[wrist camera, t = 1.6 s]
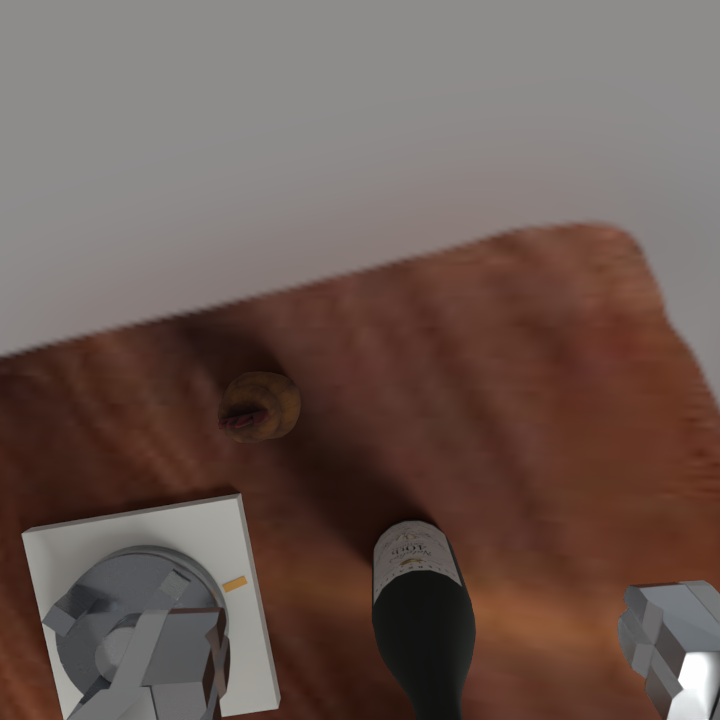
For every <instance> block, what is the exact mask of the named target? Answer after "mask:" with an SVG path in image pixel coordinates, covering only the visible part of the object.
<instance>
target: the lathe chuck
mask: <svg viewBox="0 0 720 720" xmlns="http://www.w3.org/2000/svg"><path fill="white" fill-rule="evenodd" d="M213 607H222V608H224V609H225V614H226V620H227V623H226V627H225V632H224V634H225V635H226V636H227V637H228V634H229V617H228V610H227V606H226V603H225V600H224V597H223V595H222V592H221V590H220V589H219V587H218V585H217V583H216V582H215V581H214V579H213V578H212V577H211V575H210V574H209V573H208V572H207V571H206V570H205V569H204V568H203V567H202V566H201V565H200V564H198V563H197V562H196V561H194V560H193V559H191V558H190V557H188V556H186V555H185V554H183V553H180V552H178V551H176V550H173V549H169V548H166V547H161V546H155V545H139V546H131V547H127V548H123V549H120V550H118V551H115V552H113V553H111V554H109V555H107V556H105V557H104V558H102V559H101V560H100V561H98V562H97V563H96V564H95V565H93V566H92V567H91V568H90V569H89V570H88V571H86V572H85V573H84V574H83V575H82V576H81V577H80V578H79V579H78V580H77V581H76V582H75V583H74V584H73V585H72V586H71V588H70V589H69V590H68V592H67V593H66V594H65V595H64V596H62V597H61V598H60V599H59V600H58V601H57V602H56V603H54V604H53V606H52V607H51V609H50V610H49V612H48V613H47V615H46V616H45V618H44V619H43V620H42V623H43V624H45V625H46V626H48V627H49V628H51V629H52V630H53V631H55V637H56V646H57V652H58V655H59V658H60V662H61V664H62V666H63V668H64V671H65V672H66V674H67V676H68V677H69V679H70V680H71V682H72V683H73V684H74V685H75V687H76V688H77V689H78V690H79V691H80V692H81V693H82V694H83V695H84V696H83V697H82V698H81V700H80V701H79V702H78V704H77V705H76V707H75V708H74V709H73V711H72V712H71V714H70V715H69V717H68V718H67V719H66V720H68V719H69V718H70V717H71V716H72V715H73V714H74V713H75V712H77V711H78V710H79V709H80V708H81V707H82V706H83V705H84V704H85V703H86V702H88V701H89V700H90V699H91V698H92V697H93V696H94V695H95V694H96V693H98V692H99V691H100V690H103V689H109V688H110V685H111V683H112V681H113V678H114V676H115V674H116V671H117V669H118V666H119V664H120V662H121V659H122V657H123V655H124V652H125V650H126V648H127V645H128V643H129V641H130V638H131V636H132V634H133V631H134V629H135V626H136V624H137V622H138V619H139V617H140V616H141V615H142V614H143V612H144V611H145V610H157V609H176V608H213Z"/></svg>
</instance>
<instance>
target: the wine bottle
mask: <svg viewBox="0 0 720 720" xmlns="http://www.w3.org/2000/svg"><path fill="white" fill-rule="evenodd" d="M372 623H373V627H374V632H375V637H376V641H377V645H378V649H379V652H380V654H381V656H382V658H383V660H384V662H385V664H386V665H387V667H388V668H389V670H390V671H391V673H392V674H393V676H394V677H395V679H396V680H397V681H398V683H399V684H400V685H401V687H402V688H403V689H404V691H405V692H406V694H407V696H408V698H409V699H410V701H411V704H412V706H413V708H414V711H415V715H416V718H417V720H463V719H462V711H461V695H462V689H463V686H464V682H465V679H466V676H467V673H468V670H469V667H470V664H471V660H472V655H473V649H474V643H475V634H476V629H475V617H474V613H473V608H472V604H471V600H470V597H469V594H468V591H467V588H466V586H465V583H464V580H463V577H462V574H461V571H460V568H459V565H458V563H457V560H456V557H455V554H454V551H453V548H452V546H451V544H450V542H449V541H448V539H447V537H446V536H445V534H444V533H443V532H442V531H441V530H440V529H438V528H437V527H436V526H434V525H433V524H432V523H429V522H426V521H423V520H420V519H407V520H402V521H400V522H397V523H394V524H392V525H391V526H390V527H388V528H387V529H386V530H385V531H384V532H383V533H382V534H381V535H380V537H379V539H378V541H377V542H376V544H375V547H374V554H373V561H372Z"/></svg>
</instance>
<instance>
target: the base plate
mask: <svg viewBox="0 0 720 720" xmlns="http://www.w3.org/2000/svg"><path fill="white" fill-rule="evenodd" d="M22 538H23V542H24V547H25V551H26V555H27V560H28V564H29V569H30V573H31V578H32V582H33V586H34V591H35V595H36V600H37V604H38V608H39V613H40V617H41V622H42V620H43V619H44V618H45V616H46V615H47V613H48V612H49V610H50V609H51V607H52V606H53V604H54V603H56V602H57V601H58V600H59V599H60V598H61V597H62V596H64V595H65V594H66V593H67V592H68V590H69V589H70V588H71V586H72V585H73V584H74V583H75V582H76V581H77V580H78V579H79V578H80V577H81V576H82V575H83V574H84V573H85V572H86V571H88V570H89V569H90V568H91V567H92V566H93V565H95V564H96V563H97V562H98V561H100V560H101V559H102V558H104V557H105V556H107V555H109V554H111V553H113V552H115V551H118V550H120V549H123V548H127V547H131V546H139V545H155V546H161V547H166V548H169V549H173V550H176V551H178V552H180V553H183V554H185V555H186V556H188V557H190V558H191V559H193V560H194V561H196V562H197V563H198V564H200V565H201V566H202V567H203V568H204V569H205V570H206V571H207V572H208V573H209V574H210V575H211V577H212V578H213V579H214V581H215V582H216V583H217V585H218V587H219V589H220V590H221V592H222V595H223V597H224V600H225V603H226V606H227V610H228V617H229V634H228V638H229V641H230V656H231V662H230V673H229V681H228V687H227V692H226V694H225V695H224V696H223V697H222V698H221V699H220V708H221V715H222V717H224V716H231V715H238V714H245V713H252V712H258V711H265V710H272V709H278V707H279V703H280V699H281V696H280V691H279V686H278V681H277V676H276V671H275V666H274V661H273V656H272V651H271V645H270V640H269V635H268V630H267V625H266V620H265V615H264V610H263V605H262V599H261V594H260V589H259V584H258V579H257V574H256V569H255V564H254V559H253V554H252V548H251V543H250V538H249V533H248V528H247V523H246V518H245V513H244V508H243V502H242V497H241V493H238V494H232V495H226V496H220V497H214V498H208V499H202V500H196V501H190V502H184V503H178V504H172V505H166V506H160V507H154V508H147V509H141V510H135V511H129V512H123V513H117V514H111V515H105V516H99V517H93V518H87V519H81V520H75V521H69V522H62V523H56V524H50V525H44V526H38V527H32V528H30V529H28V530H27V531H25V532H23V533H22ZM42 626H43V630H44V635H45V639H46V644H47V648H48V652H49V657H50V661H51V666H52V670H53V674H54V679H55V683H56V688H57V692H58V696H59V701H60V705H61V710H62V714H63V719H64V720H66V719H67V718H68V717H69V715H70V714H71V712H72V711H73V709H74V708H75V707H76V705H77V704H78V702H79V701H80V700H81V698H82V697H83V696H84V695H83V694H82V693H81V692H80V691H79V690H78V689H77V688H76V687H75V685H74V684H73V683H72V682H71V680H70V679H69V677H68V676H67V674H66V672H65V671H64V668H63V666H62V664H61V662H60V658H59V655H58V652H57V646H56V637H55V631H53V630H52V629H51V628H49V627H48V626H46V625H45V624H43V623H42Z"/></svg>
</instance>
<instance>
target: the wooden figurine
mask: <svg viewBox="0 0 720 720" xmlns="http://www.w3.org/2000/svg"><path fill="white" fill-rule="evenodd" d="M300 408H301V398H300V391H299V389H298V388H297V386H296V385H295V383H294V382H293V381H292V380H291V379H289V378H287V377H285V376H283V375H280V374H276V373H271V372H262V371H256V372H246V373H243V374H242V375H240V376H239V377H238V378H236V379H235V380H233V381H232V382H231V383H230V384H229V386H228V388H227V389H226V391H225V392H224V394H223V399H222V402H221V403H220V404H219V410H218V419H219V424H218V425H219V429H223V431H224V432H225V433H226V435H228V436H229V437H231V438H232V439H233V440H235V441H238V442H240V443H257V442H261V441H263V440H265V439H273V438H281V437H283V436H284V435H286V434H287V433H288V432H290V431H291V430H292V429H293V428H294V426H295V424H296V422H297V419H298V417H299V414H300Z"/></svg>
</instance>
